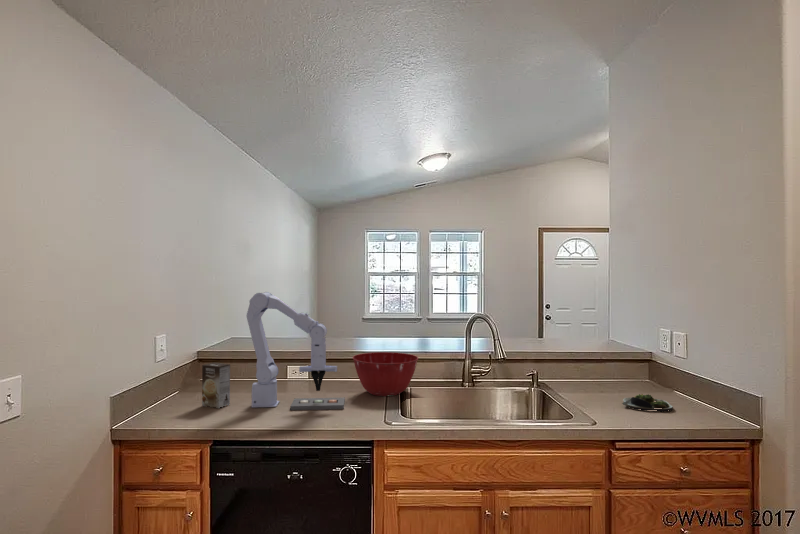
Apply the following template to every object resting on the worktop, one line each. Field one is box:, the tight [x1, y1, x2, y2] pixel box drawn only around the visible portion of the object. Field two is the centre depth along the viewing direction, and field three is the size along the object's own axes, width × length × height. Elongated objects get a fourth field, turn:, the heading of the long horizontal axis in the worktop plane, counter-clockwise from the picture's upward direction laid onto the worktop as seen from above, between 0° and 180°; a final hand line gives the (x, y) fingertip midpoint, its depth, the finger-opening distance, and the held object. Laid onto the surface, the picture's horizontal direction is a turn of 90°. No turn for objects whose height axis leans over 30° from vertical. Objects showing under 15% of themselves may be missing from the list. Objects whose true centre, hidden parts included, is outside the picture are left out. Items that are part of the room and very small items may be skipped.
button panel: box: [289, 397, 346, 411], centre depth 202 cm, size 20×12×2 cm, turn 94°
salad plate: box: [621, 393, 674, 411], centre depth 201 cm, size 19×18×5 cm
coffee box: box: [201, 362, 231, 409], centre depth 202 cm, size 9×6×16 cm
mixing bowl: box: [352, 351, 419, 397], centre depth 223 cm, size 28×28×16 cm
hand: (318, 390), depth 202 cm, fingers closed
